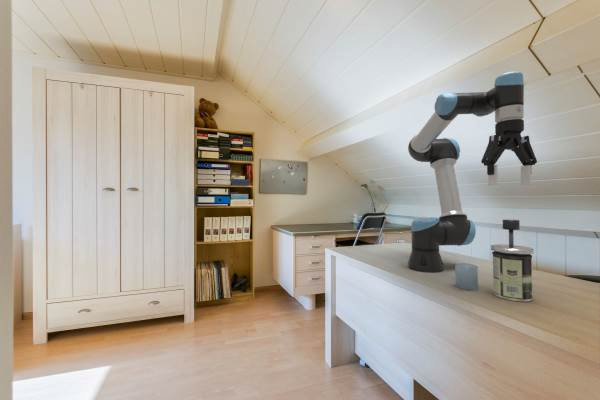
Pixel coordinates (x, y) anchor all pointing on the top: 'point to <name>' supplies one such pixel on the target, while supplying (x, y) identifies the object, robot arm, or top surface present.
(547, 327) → the top surface
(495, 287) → the coffee can
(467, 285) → the frosted blue tumbler
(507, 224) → the plunger
